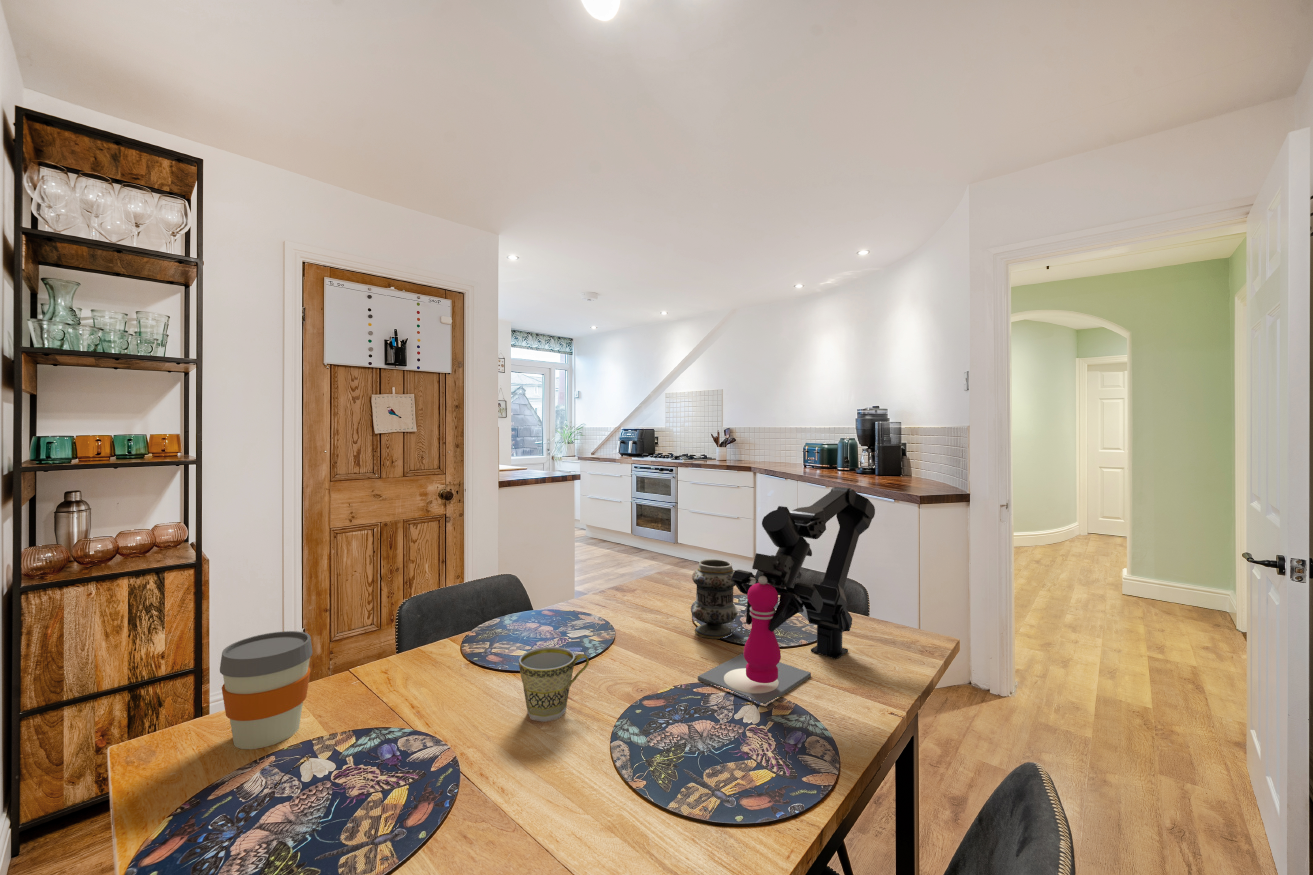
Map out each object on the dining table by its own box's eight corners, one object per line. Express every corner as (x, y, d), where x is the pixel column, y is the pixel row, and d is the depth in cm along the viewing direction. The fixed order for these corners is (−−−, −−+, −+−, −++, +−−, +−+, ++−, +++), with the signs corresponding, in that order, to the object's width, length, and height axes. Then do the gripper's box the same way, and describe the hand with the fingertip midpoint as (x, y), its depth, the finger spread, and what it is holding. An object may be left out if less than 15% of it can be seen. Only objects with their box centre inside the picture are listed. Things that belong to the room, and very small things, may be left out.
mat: (746, 654, 125) (746, 650, 125) (810, 676, 114) (810, 671, 114) (697, 679, 111) (697, 675, 111) (764, 707, 100) (764, 702, 100)
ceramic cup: (525, 732, 91) (526, 673, 91) (512, 705, 100) (513, 652, 100) (597, 714, 97) (598, 659, 97) (579, 691, 106) (579, 640, 106)
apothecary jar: (740, 641, 132) (741, 568, 132) (691, 640, 133) (692, 567, 132) (734, 624, 144) (735, 557, 144) (689, 623, 145) (690, 556, 145)
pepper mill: (772, 688, 102) (773, 583, 101) (737, 678, 106) (738, 577, 105) (785, 673, 108) (787, 574, 107) (752, 664, 112) (753, 568, 111)
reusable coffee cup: (239, 765, 81) (239, 666, 81) (205, 739, 88) (206, 648, 88) (326, 727, 92) (327, 640, 92) (290, 707, 99) (291, 625, 99)
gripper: (735, 531, 115) (703, 594, 108) (816, 544, 102) (785, 616, 95) (756, 561, 121) (726, 623, 114) (835, 577, 108) (807, 648, 100)
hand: (758, 626), depth 105 cm, fingers closed on pepper mill, 5 cm apart
